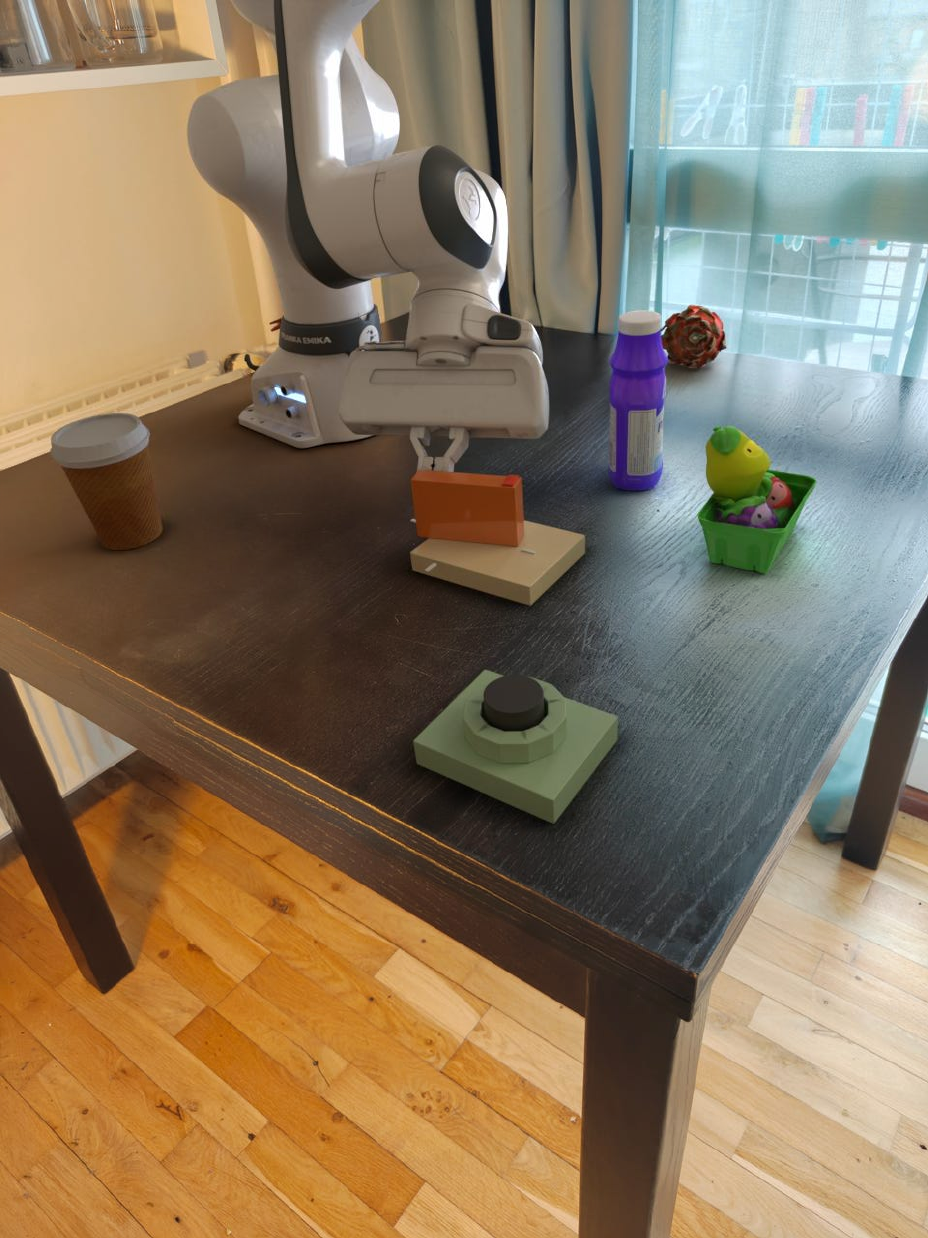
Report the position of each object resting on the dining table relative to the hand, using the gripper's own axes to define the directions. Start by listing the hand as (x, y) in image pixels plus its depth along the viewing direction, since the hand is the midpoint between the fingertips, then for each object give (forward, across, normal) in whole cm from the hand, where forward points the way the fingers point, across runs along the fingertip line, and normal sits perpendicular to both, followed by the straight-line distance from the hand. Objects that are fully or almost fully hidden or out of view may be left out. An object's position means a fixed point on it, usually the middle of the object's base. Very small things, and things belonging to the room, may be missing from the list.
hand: (434, 477), depth 82 cm
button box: (+25, +13, -15) cm, 32 cm away
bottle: (-6, +18, +16) cm, 24 cm away
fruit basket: (+3, +29, +7) cm, 30 cm away
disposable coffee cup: (+7, -34, +3) cm, 35 cm away
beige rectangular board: (+7, +5, +3) cm, 9 cm away
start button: (+22, +13, -17) cm, 31 cm away
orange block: (+5, +4, +2) cm, 6 cm away
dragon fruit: (-32, +21, +42) cm, 57 cm away
